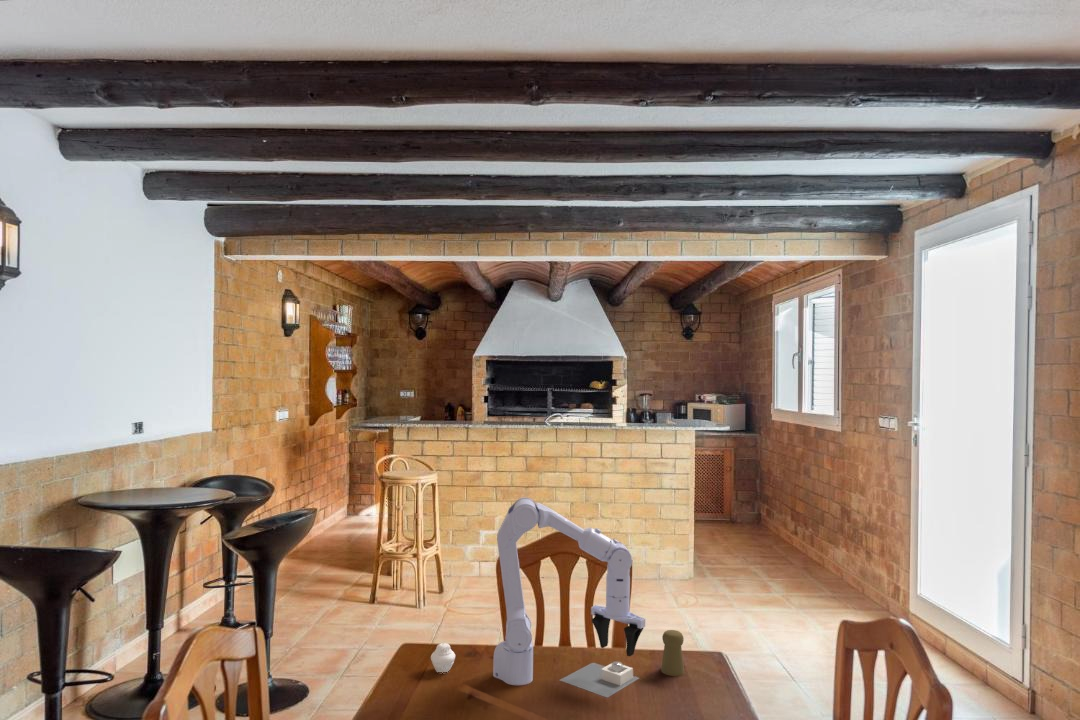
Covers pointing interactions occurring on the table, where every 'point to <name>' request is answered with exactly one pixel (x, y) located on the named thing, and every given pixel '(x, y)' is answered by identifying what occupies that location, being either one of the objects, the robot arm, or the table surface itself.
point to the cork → (672, 653)
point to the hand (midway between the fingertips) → (617, 650)
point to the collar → (617, 674)
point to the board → (594, 681)
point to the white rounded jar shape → (443, 658)
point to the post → (617, 667)
